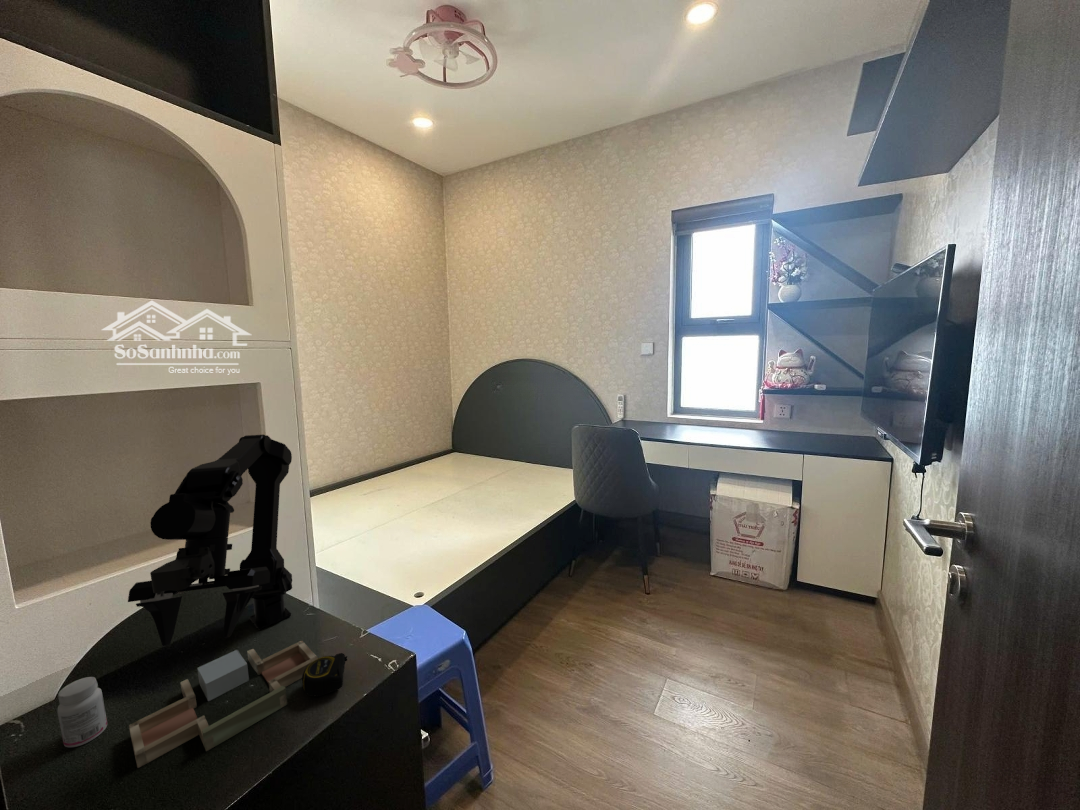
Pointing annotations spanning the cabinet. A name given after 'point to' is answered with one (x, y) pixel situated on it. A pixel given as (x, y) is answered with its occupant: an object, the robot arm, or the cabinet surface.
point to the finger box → (182, 723)
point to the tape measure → (324, 675)
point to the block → (222, 674)
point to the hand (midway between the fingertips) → (196, 641)
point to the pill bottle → (81, 712)
